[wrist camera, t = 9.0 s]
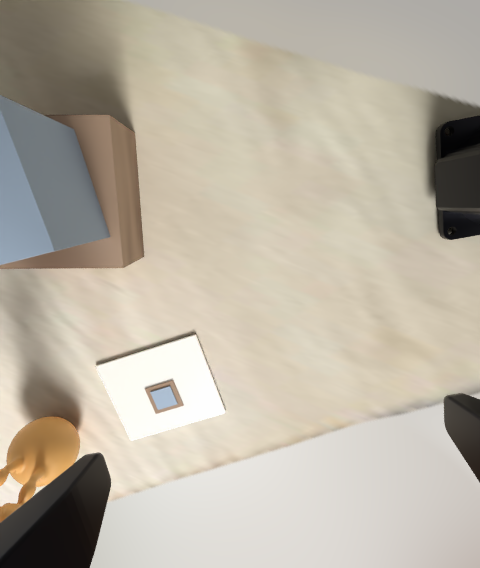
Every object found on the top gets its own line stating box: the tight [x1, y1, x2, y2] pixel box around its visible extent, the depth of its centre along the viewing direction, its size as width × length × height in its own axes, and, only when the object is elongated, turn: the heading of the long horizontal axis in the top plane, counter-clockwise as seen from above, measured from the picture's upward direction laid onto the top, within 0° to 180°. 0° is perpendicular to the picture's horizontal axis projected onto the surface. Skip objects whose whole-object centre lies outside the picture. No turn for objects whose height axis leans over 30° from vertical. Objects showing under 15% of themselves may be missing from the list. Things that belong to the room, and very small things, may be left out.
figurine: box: [0, 416, 80, 523], centre depth 17 cm, size 8×6×12 cm
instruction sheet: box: [95, 334, 226, 441], centre depth 22 cm, size 7×6×1 cm
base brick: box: [0, 115, 144, 269], centre depth 17 cm, size 7×7×4 cm
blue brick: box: [0, 95, 110, 265], centre depth 13 cm, size 5×5×5 cm
